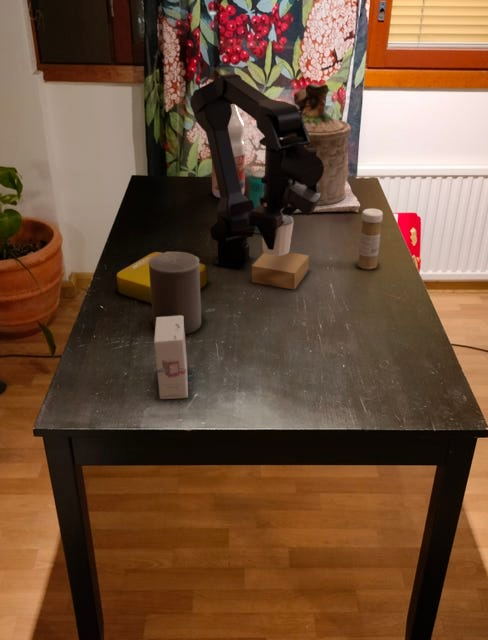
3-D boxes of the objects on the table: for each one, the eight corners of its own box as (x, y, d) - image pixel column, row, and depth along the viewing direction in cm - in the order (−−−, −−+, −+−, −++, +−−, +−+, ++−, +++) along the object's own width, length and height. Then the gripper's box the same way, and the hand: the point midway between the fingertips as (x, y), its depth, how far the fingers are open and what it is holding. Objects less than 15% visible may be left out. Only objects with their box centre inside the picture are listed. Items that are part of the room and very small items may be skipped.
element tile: (156, 267, 165) (155, 248, 162) (210, 282, 159) (209, 263, 156) (114, 292, 154) (112, 272, 151) (170, 310, 148) (169, 289, 145)
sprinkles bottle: (371, 260, 169) (377, 206, 162) (380, 268, 166) (386, 213, 158) (353, 263, 168) (359, 209, 160) (362, 271, 164) (368, 216, 157)
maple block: (251, 282, 159) (251, 265, 157) (267, 264, 167) (267, 248, 165) (294, 289, 156) (294, 273, 154) (307, 271, 164) (308, 255, 162)
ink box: (159, 372, 128) (155, 314, 122) (187, 371, 129) (184, 313, 122) (158, 400, 121) (153, 340, 115) (187, 398, 121) (184, 339, 115)
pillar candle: (163, 340, 137) (158, 270, 129) (146, 318, 145) (140, 250, 137) (209, 329, 141) (207, 260, 133) (190, 308, 149) (187, 241, 140)
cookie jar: (346, 184, 215) (356, 71, 198) (362, 214, 194) (374, 92, 177) (265, 184, 214) (267, 71, 196) (272, 215, 193) (275, 92, 176)
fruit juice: (232, 186, 212) (232, 88, 197) (251, 195, 206) (252, 94, 191) (206, 192, 207) (203, 92, 192) (223, 202, 201) (222, 99, 186)
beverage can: (258, 236, 181) (259, 178, 172) (244, 229, 184) (245, 172, 176) (276, 231, 184) (277, 174, 176) (262, 224, 187) (263, 168, 179)
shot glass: (289, 258, 148) (290, 227, 144) (256, 255, 149) (257, 223, 145) (294, 245, 154) (296, 214, 150) (263, 241, 155) (264, 211, 151)
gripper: (301, 192, 132) (297, 268, 141) (331, 163, 147) (325, 234, 155) (246, 183, 136) (245, 258, 144) (281, 156, 150) (278, 225, 159)
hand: (276, 243), depth 151 cm, fingers closed on shot glass, 6 cm apart
